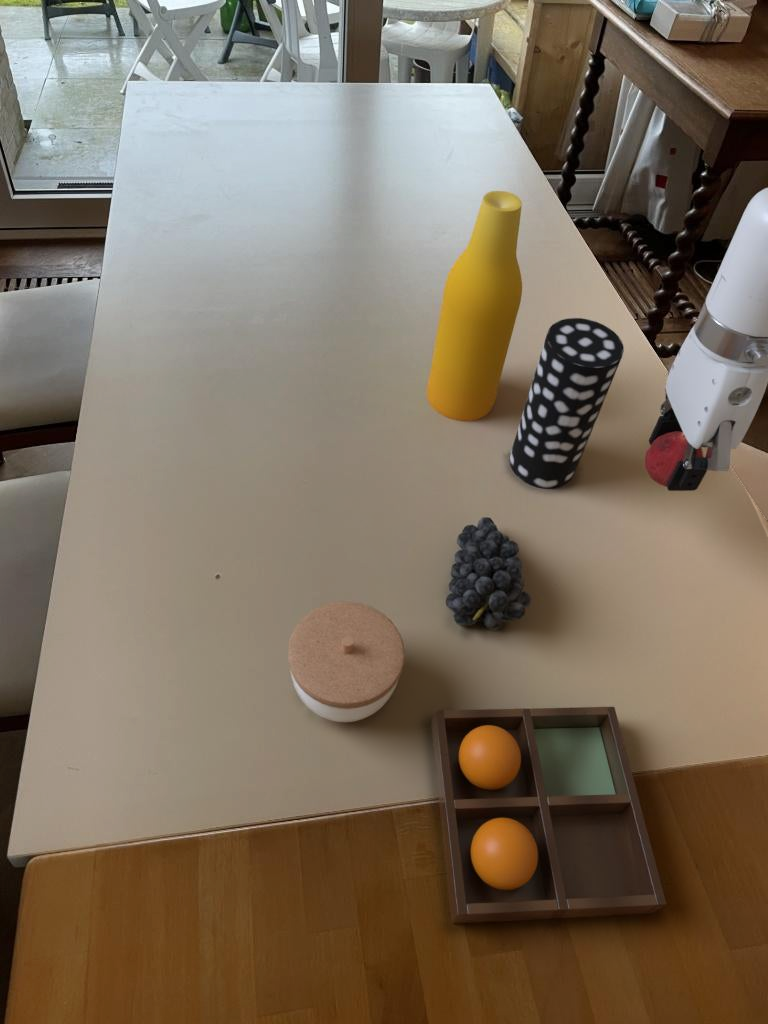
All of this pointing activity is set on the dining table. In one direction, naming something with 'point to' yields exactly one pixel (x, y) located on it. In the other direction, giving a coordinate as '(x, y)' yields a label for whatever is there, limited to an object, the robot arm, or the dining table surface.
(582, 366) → the white-spotted black cylinder
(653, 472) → the pomegranate
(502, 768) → the clementine
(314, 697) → the trinket box
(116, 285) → the dining table surface
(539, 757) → the wooden compartment tray
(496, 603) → the fruit
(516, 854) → the clementine
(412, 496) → the dining table surface
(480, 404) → the beer bottle
